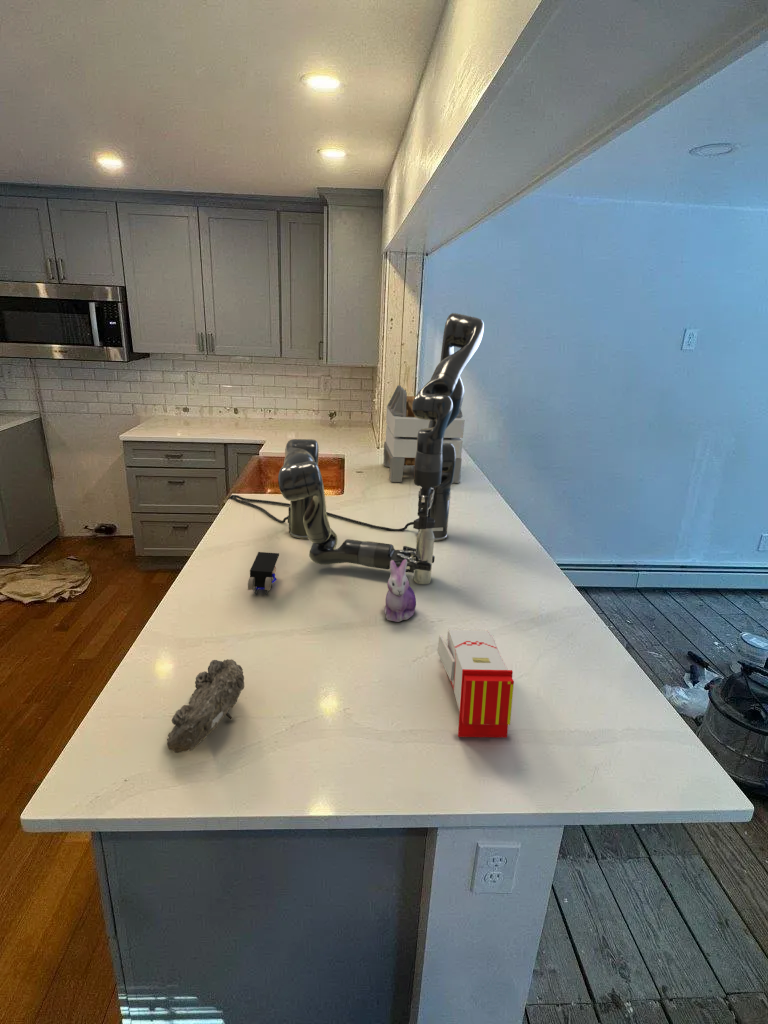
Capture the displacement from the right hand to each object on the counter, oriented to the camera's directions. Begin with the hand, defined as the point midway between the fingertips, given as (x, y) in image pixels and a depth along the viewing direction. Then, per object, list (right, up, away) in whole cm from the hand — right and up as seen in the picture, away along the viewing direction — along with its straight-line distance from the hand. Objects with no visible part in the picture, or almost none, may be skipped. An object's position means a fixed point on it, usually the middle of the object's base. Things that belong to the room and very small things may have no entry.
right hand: (424, 523), depth 160 cm
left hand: (+3, -12, +3) cm, 12 cm away
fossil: (-44, -36, -52) cm, 77 cm away
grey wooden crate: (+6, +22, +115) cm, 117 cm away
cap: (+1, +1, 0) cm, 1 cm away
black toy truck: (-45, -18, -2) cm, 48 cm away
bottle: (0, -17, +6) cm, 18 cm away
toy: (+6, -34, -42) cm, 54 cm away
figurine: (-7, -23, -13) cm, 28 cm away
